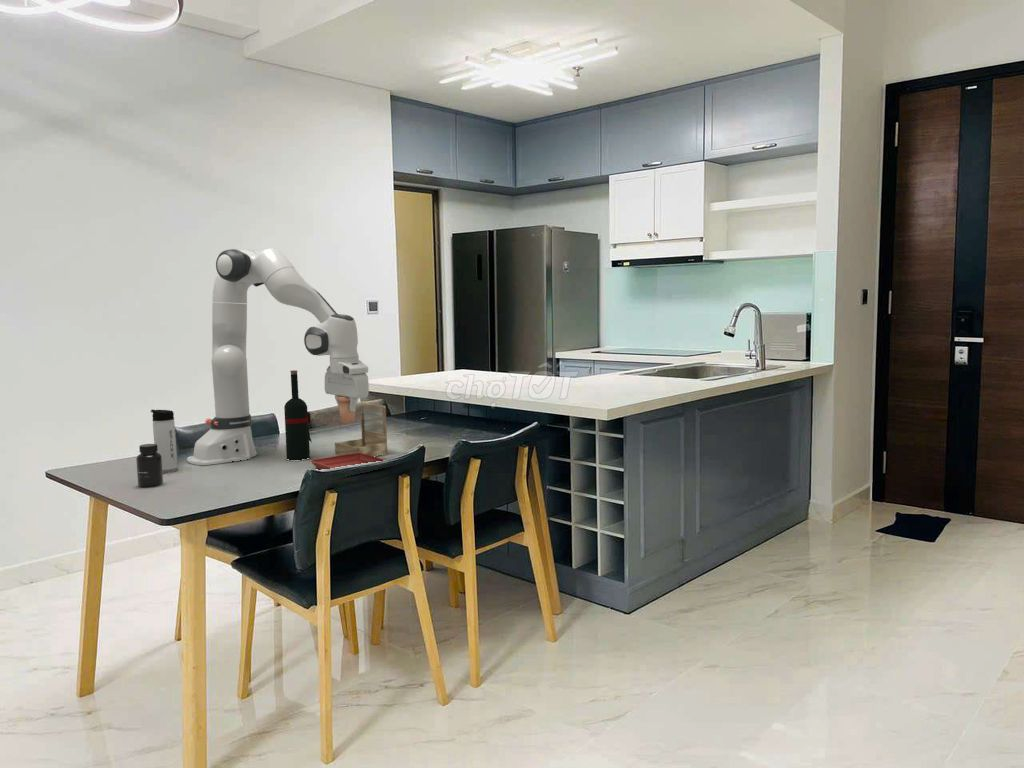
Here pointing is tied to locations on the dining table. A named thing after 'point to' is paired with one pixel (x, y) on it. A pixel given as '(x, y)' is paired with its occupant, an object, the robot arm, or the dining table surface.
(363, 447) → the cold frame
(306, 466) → the dining table surface
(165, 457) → the travel mug
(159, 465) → the supplement bottle
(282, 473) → the dining table surface
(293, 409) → the wine bottle
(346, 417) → the terracotta pot
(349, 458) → the plant saucer
